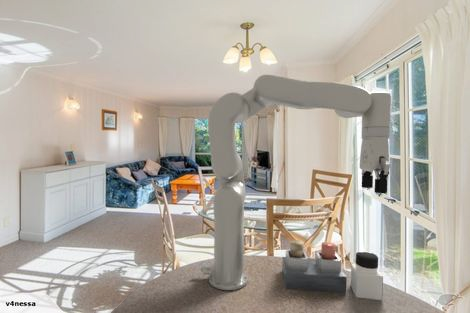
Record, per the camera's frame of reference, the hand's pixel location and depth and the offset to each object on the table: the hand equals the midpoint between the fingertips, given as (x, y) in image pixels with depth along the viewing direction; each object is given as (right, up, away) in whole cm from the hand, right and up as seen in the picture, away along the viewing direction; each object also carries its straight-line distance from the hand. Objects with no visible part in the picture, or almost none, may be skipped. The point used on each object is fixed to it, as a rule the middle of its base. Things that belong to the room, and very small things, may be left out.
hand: (373, 190), depth 80 cm
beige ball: (-22, -22, +6) cm, 32 cm away
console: (-17, -30, +6) cm, 35 cm away
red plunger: (-12, -22, +5) cm, 26 cm away
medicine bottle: (-3, -31, -1) cm, 31 cm away
